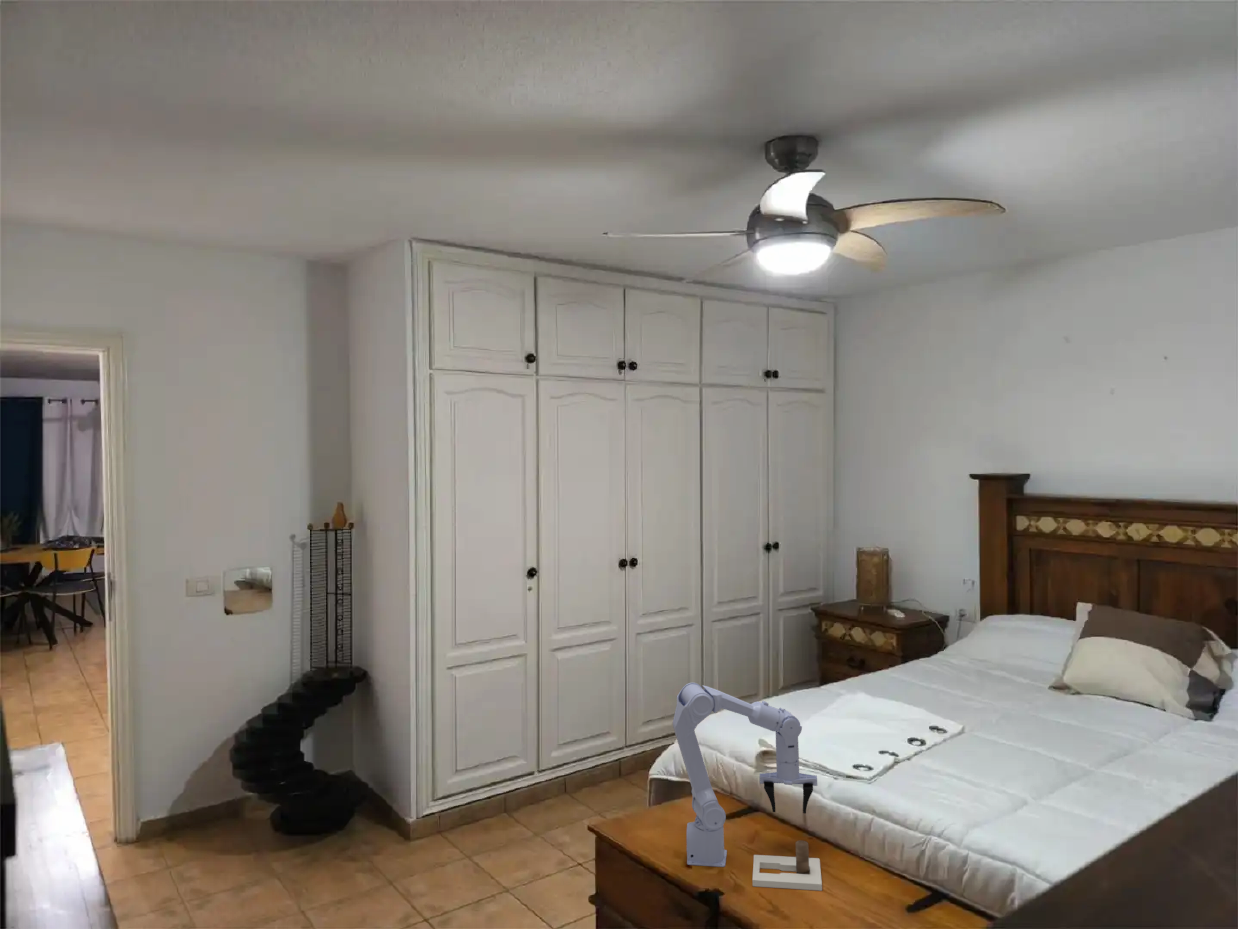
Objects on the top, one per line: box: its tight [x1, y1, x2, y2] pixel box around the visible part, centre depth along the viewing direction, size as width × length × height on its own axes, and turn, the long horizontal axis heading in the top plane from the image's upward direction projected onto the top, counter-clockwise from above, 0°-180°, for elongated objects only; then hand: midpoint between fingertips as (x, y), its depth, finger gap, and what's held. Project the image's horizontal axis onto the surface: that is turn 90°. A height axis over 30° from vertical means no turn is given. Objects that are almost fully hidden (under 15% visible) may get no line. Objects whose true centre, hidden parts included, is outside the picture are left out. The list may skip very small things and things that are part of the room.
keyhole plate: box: [752, 854, 823, 892], centre depth 202 cm, size 16×12×2 cm
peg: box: [795, 839, 810, 874], centre depth 201 cm, size 3×3×8 cm
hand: (789, 811), depth 215 cm, fingers open, 7 cm apart
